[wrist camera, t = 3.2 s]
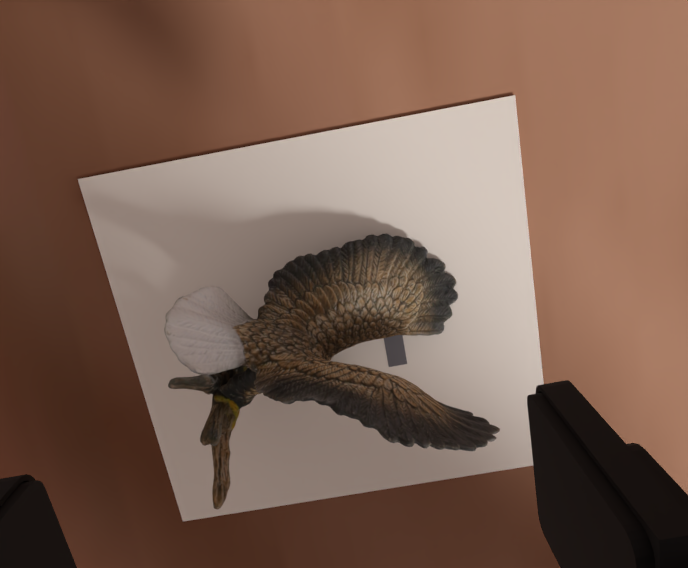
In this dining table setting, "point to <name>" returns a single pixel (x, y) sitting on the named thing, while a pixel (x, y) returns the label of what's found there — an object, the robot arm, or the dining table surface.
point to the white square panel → (313, 237)
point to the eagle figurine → (323, 346)
